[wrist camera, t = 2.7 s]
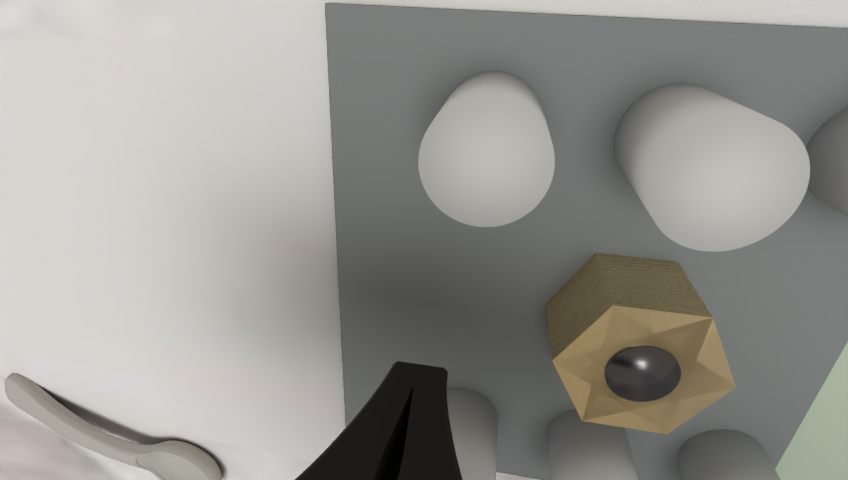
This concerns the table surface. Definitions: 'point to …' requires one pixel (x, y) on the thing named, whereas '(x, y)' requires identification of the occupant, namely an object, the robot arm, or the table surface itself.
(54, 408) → the spoon
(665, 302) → the nut
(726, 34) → the spacer board
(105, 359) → the table surface
